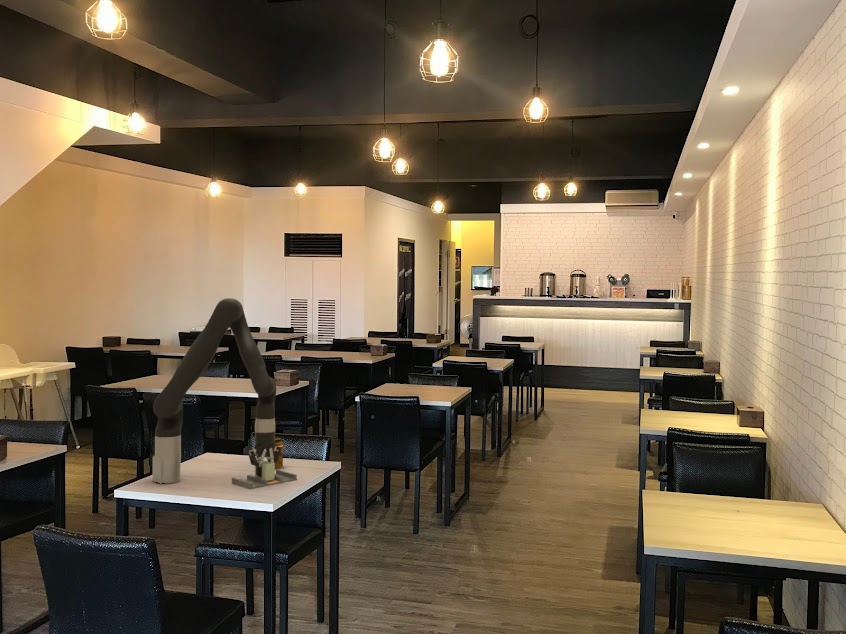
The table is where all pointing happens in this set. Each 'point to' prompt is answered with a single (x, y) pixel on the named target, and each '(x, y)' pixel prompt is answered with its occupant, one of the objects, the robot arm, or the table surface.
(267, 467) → the plug
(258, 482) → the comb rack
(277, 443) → the condiment
